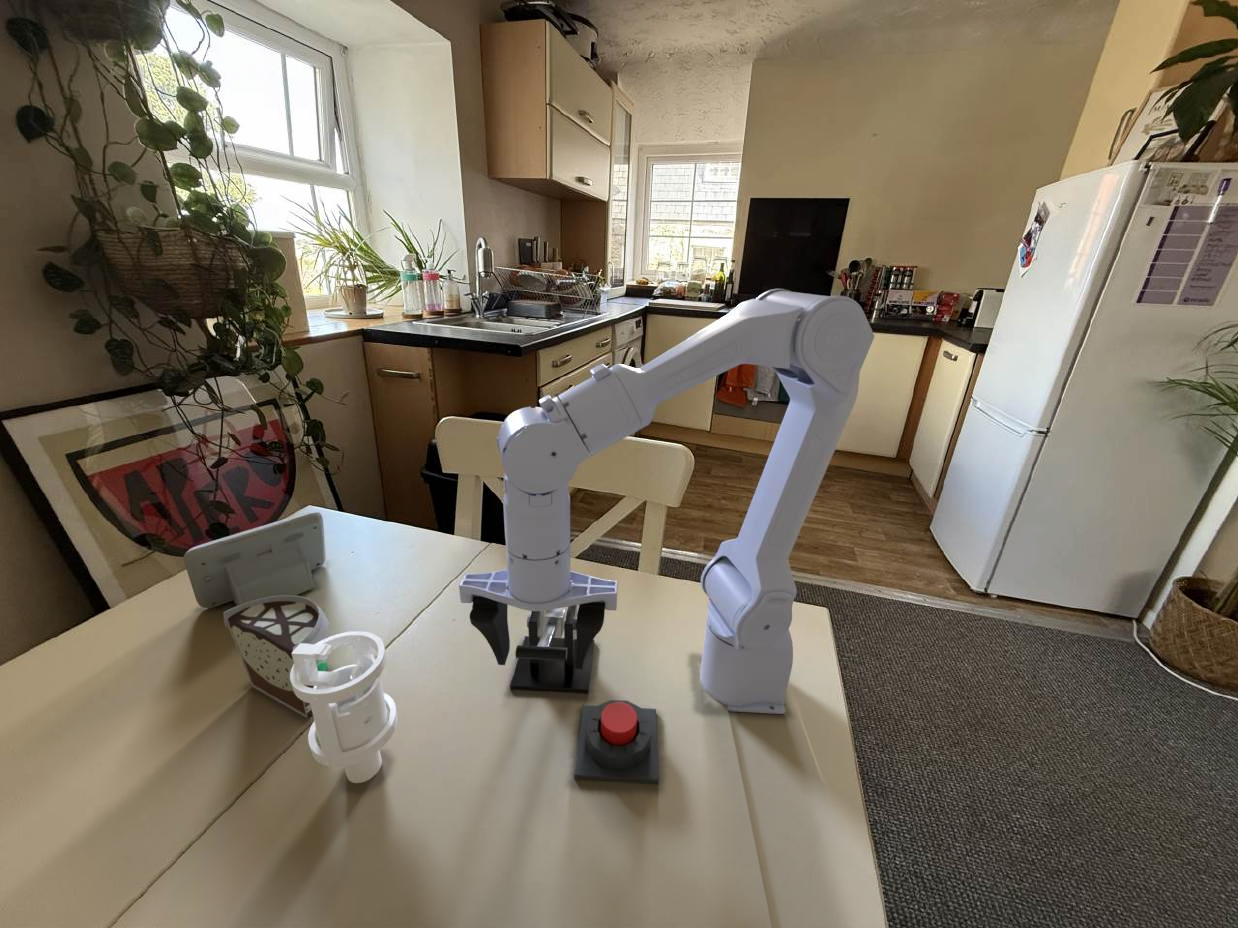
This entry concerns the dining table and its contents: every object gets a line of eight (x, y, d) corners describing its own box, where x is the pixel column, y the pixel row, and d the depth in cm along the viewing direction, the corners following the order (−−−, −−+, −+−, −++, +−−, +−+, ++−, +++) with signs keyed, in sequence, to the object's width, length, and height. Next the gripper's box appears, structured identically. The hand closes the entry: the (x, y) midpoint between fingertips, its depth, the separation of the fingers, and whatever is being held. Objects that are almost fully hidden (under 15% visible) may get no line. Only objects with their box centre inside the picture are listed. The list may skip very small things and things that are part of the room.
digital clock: (329, 558, 79) (316, 499, 75) (340, 587, 73) (326, 524, 69) (200, 594, 70) (177, 529, 66) (199, 631, 64) (173, 561, 59)
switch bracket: (588, 697, 56) (589, 636, 53) (509, 693, 56) (505, 632, 53) (594, 646, 64) (595, 590, 60) (524, 642, 64) (521, 586, 60)
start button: (636, 715, 51) (637, 702, 51) (636, 746, 48) (637, 733, 47) (601, 713, 51) (602, 700, 51) (599, 744, 48) (599, 731, 47)
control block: (655, 716, 54) (657, 695, 53) (658, 788, 47) (660, 766, 46) (582, 712, 54) (582, 691, 53) (574, 783, 47) (574, 761, 46)
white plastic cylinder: (348, 736, 51) (319, 619, 45) (417, 740, 50) (396, 622, 45) (306, 807, 44) (266, 680, 38) (384, 811, 44) (356, 684, 38)
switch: (565, 668, 49) (566, 644, 49) (514, 665, 49) (515, 642, 49) (576, 628, 59) (577, 609, 59) (534, 626, 59) (534, 606, 59)
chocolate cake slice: (367, 682, 57) (352, 612, 53) (317, 723, 52) (296, 649, 48) (296, 646, 62) (277, 580, 58) (243, 681, 56) (219, 611, 53)
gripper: (620, 524, 48) (615, 634, 53) (471, 517, 48) (481, 628, 53) (618, 566, 41) (613, 687, 47) (445, 557, 42) (460, 679, 47)
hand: (542, 659), depth 50 cm, fingers open, 7 cm apart
